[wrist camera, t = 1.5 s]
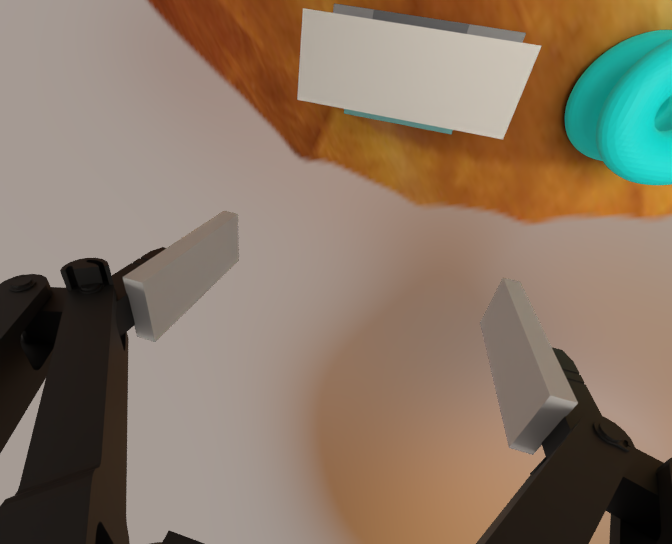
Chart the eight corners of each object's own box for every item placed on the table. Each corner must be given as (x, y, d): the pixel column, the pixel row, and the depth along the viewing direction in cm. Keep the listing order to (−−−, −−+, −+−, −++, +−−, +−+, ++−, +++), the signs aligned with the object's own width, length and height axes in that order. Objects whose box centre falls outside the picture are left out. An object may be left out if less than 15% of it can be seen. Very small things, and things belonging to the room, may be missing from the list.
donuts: (578, 178, 25) (665, 10, 19) (541, 149, 33) (594, 25, 27) (728, 201, 23) (870, 26, 18) (651, 164, 31) (731, 37, 26)
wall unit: (336, 4, 30) (280, -29, 19) (523, 33, 28) (585, 16, 17) (326, 99, 35) (276, 118, 24) (486, 130, 33) (516, 167, 22)
